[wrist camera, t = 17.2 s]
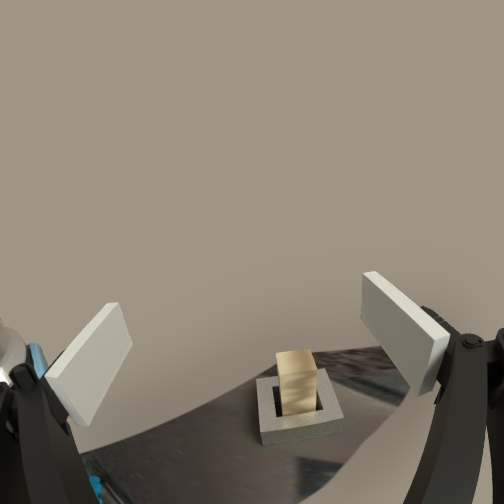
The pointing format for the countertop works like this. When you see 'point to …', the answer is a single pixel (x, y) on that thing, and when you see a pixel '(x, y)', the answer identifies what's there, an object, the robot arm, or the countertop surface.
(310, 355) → the upright pine post
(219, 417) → the countertop surface
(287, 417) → the grey square frame block
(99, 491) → the blue lumpy piece
